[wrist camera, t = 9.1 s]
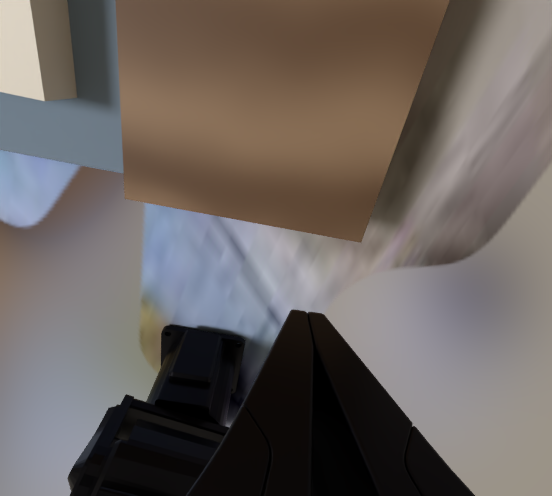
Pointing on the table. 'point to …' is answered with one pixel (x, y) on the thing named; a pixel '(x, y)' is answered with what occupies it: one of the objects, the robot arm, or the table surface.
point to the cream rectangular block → (36, 50)
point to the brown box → (269, 104)
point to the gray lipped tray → (75, 100)
